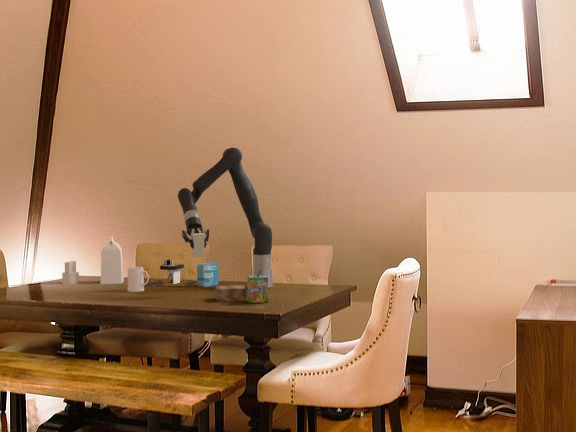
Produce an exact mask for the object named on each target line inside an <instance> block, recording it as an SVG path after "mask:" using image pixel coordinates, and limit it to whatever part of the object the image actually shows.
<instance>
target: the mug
mask: <svg viewBox="0 0 576 432" xmlns="http://www.w3.org/2000/svg"><path fill="white" fill-rule="evenodd" d="M126 269H127V292H130V293H131V292H132V293H134V292H135V293H138V292H144V291H145V286H144V285H146V284H147V283H149V279H150V277H149V273H148V272H147V271H146V270H144V266H129V267H127V268H126ZM145 274H146V277H147V279H146V280H147V281H146V282H145V280H144V279H145V278H144V276H145Z"/></svg>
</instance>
